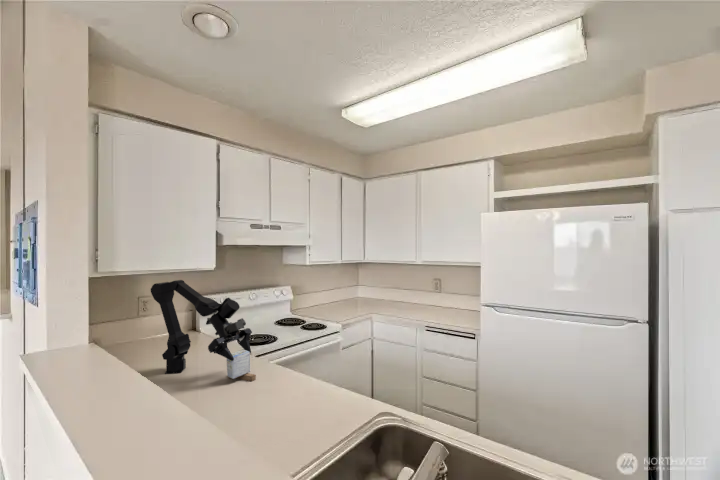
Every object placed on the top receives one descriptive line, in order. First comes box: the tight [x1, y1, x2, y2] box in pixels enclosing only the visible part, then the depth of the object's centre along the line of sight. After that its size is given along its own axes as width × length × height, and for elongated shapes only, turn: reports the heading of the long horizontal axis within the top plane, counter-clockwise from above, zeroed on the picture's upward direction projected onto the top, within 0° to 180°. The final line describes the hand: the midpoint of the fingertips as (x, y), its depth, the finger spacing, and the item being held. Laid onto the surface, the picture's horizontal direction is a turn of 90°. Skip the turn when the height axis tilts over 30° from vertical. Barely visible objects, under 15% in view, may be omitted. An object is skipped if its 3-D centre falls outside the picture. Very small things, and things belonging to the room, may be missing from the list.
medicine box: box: [226, 349, 251, 380], centre depth 134 cm, size 8×4×9 cm, turn 142°
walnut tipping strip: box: [235, 372, 257, 382], centre depth 135 cm, size 12×2×2 cm, turn 65°
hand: (241, 356), depth 133 cm, fingers open, 9 cm apart
